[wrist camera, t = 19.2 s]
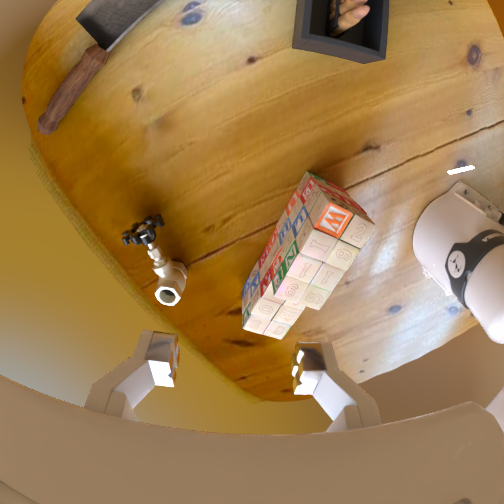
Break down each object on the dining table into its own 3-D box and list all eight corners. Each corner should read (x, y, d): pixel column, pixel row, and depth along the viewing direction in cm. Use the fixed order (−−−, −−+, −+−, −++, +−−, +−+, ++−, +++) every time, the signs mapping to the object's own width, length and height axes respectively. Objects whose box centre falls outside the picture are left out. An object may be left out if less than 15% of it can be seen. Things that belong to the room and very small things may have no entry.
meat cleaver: (173, -68, 17) (166, -80, 13) (225, -35, 21) (222, -47, 18) (23, 95, 28) (7, 98, 25) (59, 135, 33) (44, 140, 29)
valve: (200, 275, 45) (167, 208, 39) (194, 302, 39) (154, 229, 33) (164, 284, 46) (130, 223, 40) (155, 311, 40) (113, 244, 34)
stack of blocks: (276, 299, 48) (282, 356, 37) (241, 287, 46) (240, 345, 36) (344, 188, 38) (378, 226, 27) (306, 168, 37) (329, 201, 26)
